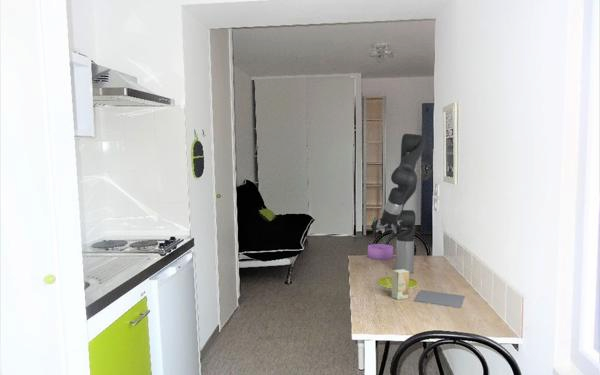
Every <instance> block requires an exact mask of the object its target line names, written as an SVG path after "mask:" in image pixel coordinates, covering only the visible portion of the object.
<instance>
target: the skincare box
mask: <svg viewBox="0 0 600 375" xmlns="http://www.w3.org/2000/svg"><path fill="white" fill-rule="evenodd" d="M391 280H392V281H391V298H393V299H395V300H398V301H399V300H405V299H409V287H410V286H409V285H410V273H409V271H407V270H404V269H400V270H396V269H394V270H392V279H391Z"/></svg>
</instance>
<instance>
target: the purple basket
mask: <svg viewBox="0 0 600 375" xmlns="http://www.w3.org/2000/svg"><path fill="white" fill-rule="evenodd" d="M367 258H369V259H373V260H377V259H380V261H386V260H393V258H394V246H392V245H391V244H390V245H389V244H385V243H384V244H381V243H374V244H373V243H372V244H368V245H367Z"/></svg>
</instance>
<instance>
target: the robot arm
mask: <svg viewBox="0 0 600 375" xmlns="http://www.w3.org/2000/svg"><path fill="white" fill-rule="evenodd" d="M400 143H401V144H400V163H399V165H398V166H397V167H396V168H395V169H394V170H393V171H392V174H391V176H390V179H391V180H390V181H392V184H394V185H397V187H396V186H395V187H392V188H391V190H390V193H389V194H388V198H387V200H386V203H385V205H384V208H383V212H382V215H381V217H380V218H378V217H374V218H373V220H372V223H371V226H370V229H371V230H372V237H373V238H374V239H377V236H378V234H379V232H380V231H382V230H383V229H385V230H386V229H389V230H390V229H391V233H390V235H389V238H390V240H393V239H395V237H396V242H395V243H396V245H395V246H396V251H395V257H396V258H395V270H400V269H404V270H407V271H409V274H412V273H414V265H415V264H414V261H415V258H414V257H415V235H416V234H415V231H416V220H417V219H416V218H417V217H416V213H415V211H414V210H413V209H412V210H411V209H404V207H405V204H407V202H408V201H409V200H410V198H411V197H412V196H413V195H414V193H415V192H416V189H417V184H418V183H417V182H418V175H417V173H416V171H415V170H416V165H417V163H418V162H419V159H420V158H421V156H422V154H423V152H424V149H425V146H426V138H425V136H424V135H422V134H413V133H404V134H403V135H402V138H401V142H400ZM402 228H407V229H405V230H404V231H402ZM401 231H402V232H401ZM396 234H397V235H396Z"/></svg>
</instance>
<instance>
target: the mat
mask: <svg viewBox="0 0 600 375" xmlns="http://www.w3.org/2000/svg"><path fill="white" fill-rule="evenodd" d="M465 298H466V297H465V295H462V294H455V293H446V292H438V291H432V290H424V289H421V290H420V291H419V293H417V295H416V297H415V298H414V300H413V301H414V302H415V303H422V304H423V303H425V304H429V303H430V304H429V305H437V306H444V307H451V308H457V309H461V308H462V305H463V302H464V300H465Z"/></svg>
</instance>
